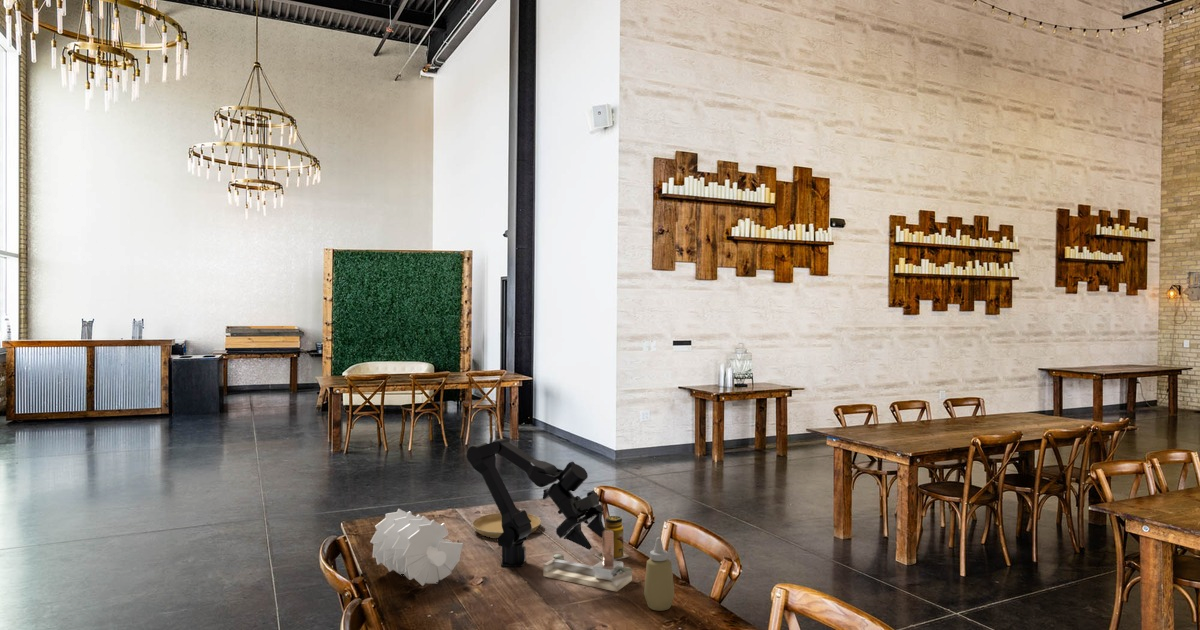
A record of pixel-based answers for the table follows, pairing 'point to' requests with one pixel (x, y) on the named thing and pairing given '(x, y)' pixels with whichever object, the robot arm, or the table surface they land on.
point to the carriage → (607, 558)
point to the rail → (584, 574)
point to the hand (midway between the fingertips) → (598, 543)
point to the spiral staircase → (415, 547)
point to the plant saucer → (498, 524)
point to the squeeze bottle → (659, 579)
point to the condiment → (615, 536)
